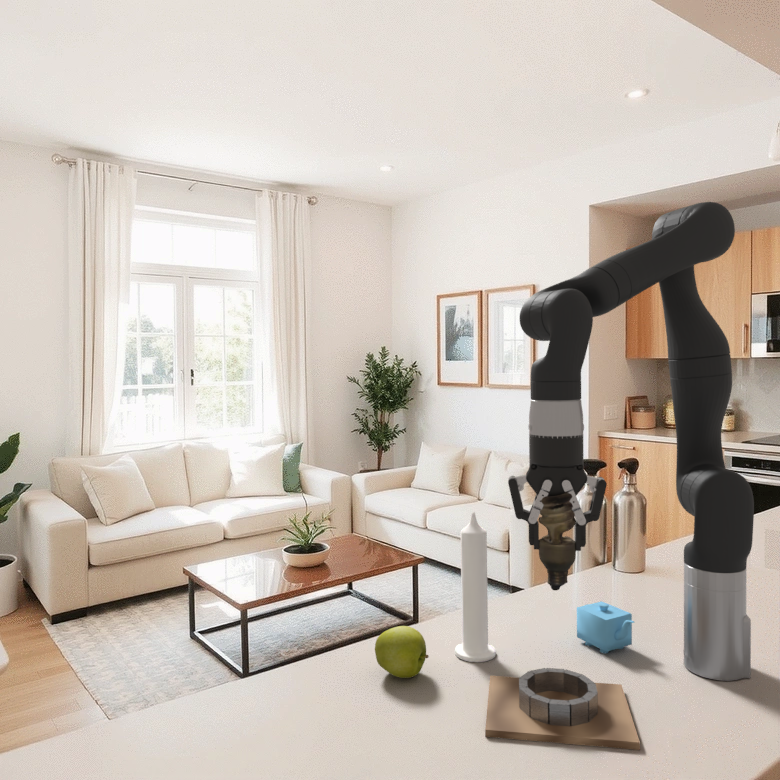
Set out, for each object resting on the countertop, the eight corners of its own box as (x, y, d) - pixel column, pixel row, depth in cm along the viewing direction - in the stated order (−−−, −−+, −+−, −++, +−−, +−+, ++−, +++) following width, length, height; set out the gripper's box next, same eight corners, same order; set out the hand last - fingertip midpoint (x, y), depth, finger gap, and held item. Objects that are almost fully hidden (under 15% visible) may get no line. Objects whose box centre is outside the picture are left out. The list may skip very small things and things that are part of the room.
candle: (494, 664, 114) (492, 517, 112) (452, 661, 115) (450, 516, 114) (496, 646, 120) (494, 508, 119) (457, 644, 122) (455, 507, 121)
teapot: (647, 656, 115) (647, 613, 115) (621, 664, 113) (621, 620, 112) (595, 632, 126) (595, 592, 126) (571, 639, 123) (570, 598, 123)
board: (621, 690, 104) (621, 684, 103) (639, 750, 88) (639, 742, 88) (490, 681, 107) (490, 675, 107) (485, 736, 92) (485, 729, 92)
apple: (423, 691, 105) (422, 640, 104) (368, 682, 108) (367, 633, 108) (437, 669, 112) (436, 622, 112) (386, 661, 115) (385, 615, 115)
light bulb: (532, 583, 100) (532, 482, 99) (568, 581, 100) (568, 481, 99) (544, 596, 94) (544, 489, 93) (582, 594, 94) (582, 488, 94)
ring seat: (592, 690, 102) (592, 670, 102) (601, 729, 91) (601, 707, 91) (519, 685, 104) (518, 666, 104) (519, 722, 93) (519, 701, 93)
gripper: (605, 428, 98) (605, 543, 99) (505, 428, 101) (506, 540, 102) (612, 434, 91) (612, 558, 92) (504, 433, 94) (505, 554, 94)
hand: (556, 548), depth 97 cm, fingers closed on light bulb, 5 cm apart
